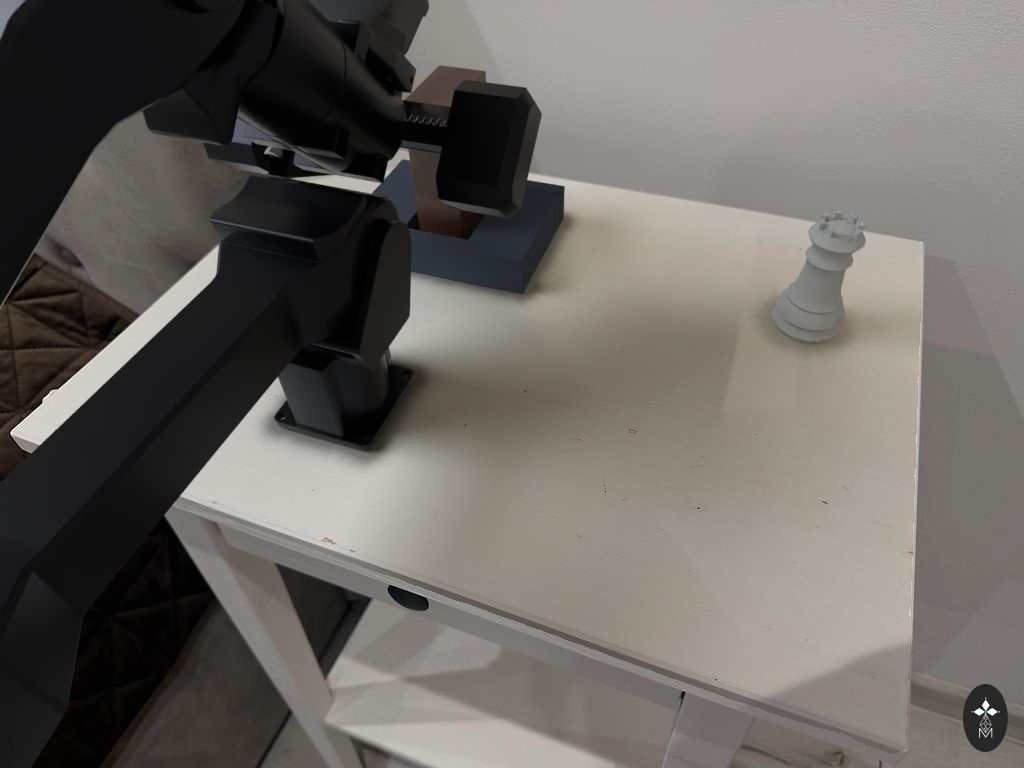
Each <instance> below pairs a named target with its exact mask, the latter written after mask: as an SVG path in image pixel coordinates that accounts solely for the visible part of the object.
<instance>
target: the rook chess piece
mask: <svg viewBox="0 0 1024 768" xmlns="http://www.w3.org/2000/svg"><path fill="white" fill-rule="evenodd" d="M843 213H844V212H843V210H834V211H833V213H832V215H831V213H829V212H828V211H826V212H824V213H822V214H821V215H820V218H819V219H818V222H816V223H814V224H812V225H810V227H809V229H808V230H807V233H808V237H809V240H810V241H811V245H810V246H808V247H806V250H805V252H804V254H805V258H806V259H805V262H804V265H803V267H802V268H801V271H800V272H799V274H798V276H797V278H796V279H795V280H794V281H793V282H791V283H789V285H788V287H786V288H784V289H783V290H782V291H781V292H780V293H779V295H778V297H777V299H776V301H775V304H774V306H773V307H772V310H771V317H772V321H773V323H774V325H775V326H776V327H777V329H778V330H779V332H780V333H782V334H783V335H785V336H786V337H787V338H789V339H791V340H794V341H798V342H800V343H805V344H807V343H808V344H816V343H821V342H825V341H828V340H830V339H832V338H834V336H836V335H838V334H839V333H840V331H841V328H842V322H843V320H844V318H845V316H846V310H845V309H846V308H845V306H844V297H843V294H842V288H843V284H844V278H845V274H846V272H847V269H849V268H851V267H852V266H853V263H854V261H855V260H854V257H853V254H854V253H856V252H858V251H859V250H861V249H863V248H864V247H865V245H866V243H867V240H866V237H865V233H864V229H865V228H866V225H865V222H864V221H858V219H859V216H858V215H855V214H854V213H850V214H849V215H848V218H844V217H843ZM857 221H858V222H857Z"/></svg>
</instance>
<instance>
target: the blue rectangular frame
mask: <svg viewBox="0 0 1024 768" xmlns="http://www.w3.org/2000/svg"><path fill="white" fill-rule="evenodd" d="M565 187H566V186H565V185H562V184H561V185H560V184H555V183H548V182H542V181H536V180H531V179H527V183H526V187H525V192H524V196H523V201H522V205H521V209H520V210H519V211H518V212H516V213H515V214H514V215H512V216H511V217H509V218H503V217H498V216H492V215H486V214H485V216H484V217H483V219H482V220H481V222H480V223H479V225H478V226H477V228H476V229H475V231H474V232H473V234H472V235H471V237H470V238H469V240H466V239H461V238H456V237H451V236H446V235H441V234H435V233H430V232H425V231H420V226H419V219H418V212H417V206H416V199H415V192H414V185H413V178H412V171H411V164H410V159H405V158H404V159H403V158H401V160H400V161H399V162H398V164H397V165H395V167H394V168H393V169H392V170H391V171H390V172H389V174H387V176H385V178H384V183H379V184H378V186H376V188H375V189H374V190H373V191H372V192H371V194H376V195H382V196H386V197H387V198H388V199H389V200H391V202H392V203H393V205H394V206H395V208H396V210H397V214H398V217H399V221H400V222H403V223H405V224H406V225H407V227H408V228H409V231H410V235H411V243H412V253H411V272H413V273H419V274H422V275H423V274H424V275H428V276H433V277H438V278H442V279H447V280H452V281H456V282H462V283H467V284H471V285H475V286H479V287H484V288H485V287H486V288H490V289H495V290H500V291H505V292H509V293H514V294H519V295H524V293H525V291H526V290H527V288H528V286H529V284H530V282H531V281H532V278H533V276H534V275H535V273H536V271H537V269H538V267H539V265H540V263H541V262H542V260H543V258H544V257H545V254H546V252H547V250H548V248H549V247H550V245H551V243H552V241H553V240H554V237H555V236H556V234H557V233H558V230H559V228H560V226H561V225H562V223H563V221H564V219H565V190H566V188H565Z"/></svg>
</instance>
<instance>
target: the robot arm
mask: <svg viewBox="0 0 1024 768" xmlns="http://www.w3.org/2000/svg"><path fill="white" fill-rule="evenodd" d="M429 10H430V2H429V0H0V310H1V309H2V307H3V306H4V304H5V302H6V300H7V299H8V297H9V296H10V293H11V292H12V290H13V289H14V287H15V285H16V283H17V282H18V280H19V279H20V277H21V275H22V273H23V272H24V270H25V269H26V267H27V265H28V263H29V262H30V260H31V258H32V257H33V255H34V253H35V251H36V250H37V248H38V246H39V244H40V243H41V242H42V240H43V238H44V236H45V235H46V233H47V231H48V229H49V228H50V226H51V225H52V223H53V221H54V220H55V218H56V216H57V215H58V213H59V211H60V209H61V207H62V206H63V204H64V202H65V201H66V199H67V198H68V195H69V194H70V192H71V191H72V189H73V187H74V186H75V184H76V182H77V181H78V179H79V177H80V175H81V173H82V172H83V170H84V168H85V167H86V165H87V164H88V162H89V160H90V158H91V157H92V155H93V154H94V152H95V151H96V150H97V149H98V148H99V147H100V146H101V144H102V143H103V142H104V141H105V140H106V138H107V137H108V136H109V135H110V134H111V133H112V132H113V130H114V129H115V128H117V127H118V126H119V125H120V124H123V123H124V122H125V121H127V120H129V119H131V118H132V117H134V116H135V115H138V114H140V113H142V116H143V119H144V122H145V126H146V128H147V130H148V131H149V132H151V133H152V134H153V135H160V136H164V137H165V136H166V137H171V138H176V139H181V140H187V141H194V142H200V143H202V144H203V148H204V150H205V153H206V155H207V158H208V159H209V160H212V161H214V162H216V163H218V164H220V165H223V166H225V167H227V168H230V169H234V170H240V171H246V172H251V173H255V174H261V175H266V176H269V177H265V176H259V175H253V174H250V175H249V176H248V178H247V180H246V182H245V183H244V185H243V186H242V187H243V188H242V189H241V190H240V191H239V192H238V193H237V194H236V196H235V197H234V198H232V199H231V200H229V201H228V202H226V203H224V204H222V205H220V206H219V207H217V208H215V209H213V211H212V212H211V215H210V219H209V221H210V223H211V225H212V226H213V228H214V230H215V231H216V233H217V235H218V237H219V242H218V251H217V261H216V273H215V276H214V277H213V279H212V280H211V281H210V282H209V283H208V284H207V285H206V286H204V288H203V289H202V290H200V291H199V293H197V295H196V296H195V297H193V299H191V300H190V301H189V302H188V303H187V304H186V305H185V306H184V307H183V308H181V310H180V311H179V312H178V313H177V314H175V316H173V317H172V318H171V319H170V320H169V321H168V323H166V324H165V325H164V326H163V327H161V329H160V330H159V331H158V332H157V333H156V334H154V335H153V336H152V337H151V338H150V339H149V340H148V341H147V342H146V343H145V344H144V345H143V346H142V347H141V348H140V349H139V350H137V352H135V354H133V355H132V356H131V357H130V358H129V360H127V361H126V362H125V363H124V364H123V365H122V366H121V367H120V368H119V369H118V370H117V371H116V372H115V373H114V374H113V375H112V376H111V377H110V378H109V379H107V380H106V381H105V383H103V384H102V385H101V386H100V387H99V388H98V389H97V390H96V391H95V392H94V393H93V394H92V395H91V396H89V397H88V399H87V400H85V402H83V403H82V404H81V405H80V406H79V407H78V408H77V409H76V410H75V411H74V412H72V413H71V415H70V416H69V417H68V418H66V420H64V422H62V423H61V424H60V425H59V426H58V427H57V428H56V429H55V430H54V431H53V432H52V433H50V435H49V436H48V437H46V439H44V441H42V442H41V444H39V445H38V446H37V447H36V448H35V449H34V450H33V451H32V452H31V453H30V454H29V455H27V456H26V458H25V459H24V460H23V461H21V462H20V463H19V465H17V466H16V467H15V468H14V469H13V470H12V471H11V472H10V473H9V474H8V475H6V476H5V478H4V479H3V480H1V482H0V768H32V766H33V765H34V763H35V762H36V760H37V758H38V756H39V755H40V754H41V752H42V750H43V749H44V747H45V746H46V744H47V743H48V741H49V739H50V738H51V736H52V735H53V733H54V732H55V730H56V728H57V726H58V725H59V723H61V720H62V719H63V717H64V716H65V713H66V712H67V708H68V705H69V702H70V700H69V699H70V696H71V695H70V694H71V688H72V682H73V678H74V677H73V676H74V672H75V665H76V659H77V655H78V648H79V641H80V636H81V631H82V626H83V619H84V617H85V615H86V613H87V612H88V610H89V609H90V607H91V606H92V604H93V603H94V602H95V600H96V599H97V598H98V597H99V595H101V593H102V592H103V591H104V589H105V588H106V587H107V586H108V584H110V582H111V581H112V580H113V578H114V577H116V575H117V573H119V571H120V570H121V569H122V568H123V567H124V565H125V564H126V563H127V561H128V560H129V559H130V558H131V556H132V555H133V554H134V553H135V552H136V550H137V549H138V548H139V547H140V546H141V545H142V543H143V542H144V541H145V539H146V538H147V537H148V536H149V535H150V534H151V532H152V531H153V530H154V528H156V527H157V525H158V524H159V522H160V521H162V518H164V516H165V515H166V514H167V513H168V511H169V510H170V509H171V508H172V506H173V505H174V504H175V503H176V502H177V500H178V499H179V498H180V497H181V496H182V494H183V493H184V492H185V491H186V489H187V488H188V487H189V486H190V485H191V483H192V482H193V481H194V480H195V478H197V477H198V475H199V474H200V472H201V471H202V470H203V469H204V468H205V466H206V465H207V464H208V463H209V461H210V460H211V459H212V458H213V457H214V455H215V454H216V453H217V451H218V450H220V448H221V447H222V445H224V443H225V442H226V441H227V439H228V438H229V437H230V436H231V434H232V433H234V431H235V430H236V428H237V427H238V426H239V425H240V424H241V422H242V421H244V419H245V418H246V416H247V415H248V414H249V413H250V411H252V409H253V408H254V407H255V405H256V404H257V403H258V402H259V401H260V400H261V398H262V397H263V396H264V395H265V393H266V392H267V391H268V390H269V388H270V387H271V386H272V385H273V384H274V383H275V381H276V380H277V379H278V381H279V383H280V386H281V388H282V391H283V393H284V396H285V398H286V400H284V402H283V404H282V405H281V406H280V407H279V409H278V410H277V411H276V413H275V414H274V421H275V424H276V425H277V426H278V427H280V428H284V429H288V430H291V431H294V432H298V433H301V434H304V435H308V436H312V437H315V438H318V439H322V440H326V441H328V442H333V443H336V444H339V445H343V446H347V447H350V448H353V449H357V450H360V451H368V450H370V449H371V448H372V447H373V446H374V445H375V443H376V442H377V440H378V438H379V436H380V435H381V433H382V432H383V431H384V428H385V427H386V425H387V424H388V422H389V421H390V419H391V417H392V416H393V414H394V413H395V411H396V409H397V407H398V406H399V404H400V403H401V401H402V400H403V398H404V396H406V393H407V392H408V390H409V389H410V387H411V385H412V384H413V382H414V380H415V375H414V371H413V370H412V369H411V368H408V367H404V366H400V365H396V364H392V362H391V360H392V355H391V350H390V347H391V345H392V343H393V342H394V340H395V339H396V337H397V336H398V335H399V333H400V332H401V330H402V329H403V327H404V326H405V324H406V323H407V321H408V320H409V319H410V316H411V291H412V289H411V288H412V287H411V286H412V271H411V253H412V243H411V235H410V231H409V228H408V227H407V225H406V224H405V223H403V222H400V221H399V217H398V214H397V210H396V208H395V206H394V205H393V203H392V202H391V200H389V199H388V198H387V197H386V196H382V195H376V194H372V192H371V193H370V192H364V191H360V190H353V189H348V188H343V187H337V186H332V185H326V184H321V183H315V182H310V181H304V180H299V179H300V178H310V177H327V176H339V177H343V178H350V179H356V180H361V181H367V182H372V183H377V184H381V183H384V179H385V178H386V172H387V168H388V164H389V161H392V160H393V159H394V157H395V156H396V155H397V153H398V152H399V150H400V148H401V149H407V150H408V149H413V150H419V151H425V152H431V153H437V154H440V159H439V163H438V168H437V172H436V185H437V193H438V199H439V200H440V201H441V202H443V203H444V204H446V205H448V207H449V208H453V209H459V210H464V211H470V212H475V213H481V214H486V215H492V216H498V217H503V218H509V217H511V216H512V215H514V214H515V213H516V212H518V211H519V210H520V209H521V205H522V201H523V196H524V192H525V187H526V183H527V180H528V178H529V173H530V169H531V164H532V160H533V156H534V153H535V147H536V144H537V138H538V133H539V129H540V126H541V125H540V124H541V121H542V116H543V113H542V111H541V110H540V108H539V106H538V105H537V102H536V101H535V99H534V98H533V96H532V95H531V93H530V92H529V90H528V88H527V87H525V86H518V85H510V84H501V83H493V82H487V81H486V82H480V81H472V80H465V79H464V80H463V81H462V82H461V84H460V85H459V86H458V87H457V88H456V89H455V90H454V94H453V99H452V103H451V107H448V106H441V105H434V104H427V103H420V102H413V101H406V100H405V99H402V97H403V93H406V94H411V93H412V92H413V87H414V81H415V77H416V73H417V68H416V67H415V66H414V65H413V63H411V62H410V60H409V59H408V58H407V57H406V55H407V53H408V52H409V50H410V48H411V46H412V43H413V41H414V39H415V37H416V34H417V32H418V29H419V27H420V25H421V23H422V20H423V18H425V17H426V16H427V14H428V12H429ZM406 118H407V121H406ZM413 119H414V122H412V120H413ZM420 120H421V123H419V121H420ZM426 121H427V123H428V124H425V123H426ZM433 122H434V124H435V125H432V124H433ZM440 123H441V126H439V125H440ZM446 125H447V126H446ZM298 178H299V179H298Z"/></svg>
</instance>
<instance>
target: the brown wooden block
mask: <svg viewBox="0 0 1024 768" xmlns="http://www.w3.org/2000/svg"><path fill="white" fill-rule="evenodd" d="M486 75H487V72H486V71H485V70H479V69H473V68H472V69H471V68H464V67H457V66H449V65H448V66H447V65H437V67H436V68H435V69H433V71H431V73H430V74H429V75H428V76H427V77H426V78H425V79H424V80H423V81H422V82H420V84H419V85H417V87H416V88H415V89H414V90H412V91H411V93H409V95H407V97H405V99H404V100H406V101H413V102H420V103H427V104H434V105H441V106H448V107H451V103H452V99H453V94H454V90H455V89H456V88H457V87H458V86H459V85H460V84H461V82H462V81H463V80H464V79H465V80H472V81H480V82H487V76H486ZM406 121H407V118H406ZM412 122H414V119H413V120H412ZM419 123H421V120H420V121H419ZM425 124H428V123H427V121H426V123H425ZM432 125H435V124H434V122H433V124H432ZM439 126H441V123H440V125H439ZM446 126H447V125H446ZM407 150H408V156H409V160H410V164H411V171H412V178H413V185H414V192H415V199H416V206H417V212H418V219H419V226H420V231H425V232H430V233H435V234H441V235H446V236H451V237H456V238H461V239H466V240H469V238H470V237H471V235H472V234H473V232H474V231H475V229H476V228H477V226H478V225H479V223H480V222H481V220H482V219H483V217H484V216H485V214H481V213H475V212H470V211H464V210H459V209H453V208H449V207H448V205H446V204H444V203H443V202H441V201H440V200H439V199H438V193H437V185H436V172H437V168H438V163H439V159H440V154H437V153H431V152H425V151H419V150H413V149H407Z"/></svg>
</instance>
